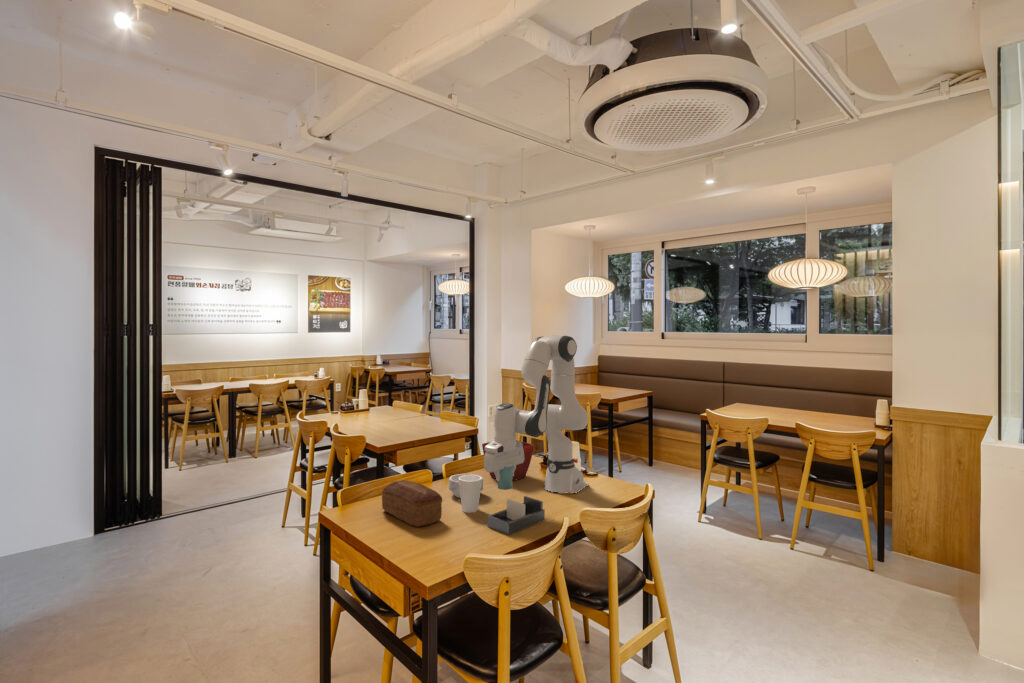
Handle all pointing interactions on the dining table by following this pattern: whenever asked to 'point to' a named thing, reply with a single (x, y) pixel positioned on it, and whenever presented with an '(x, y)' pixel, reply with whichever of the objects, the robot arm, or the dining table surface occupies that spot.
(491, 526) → the grey open box
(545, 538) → the dining table surface
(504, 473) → the jar
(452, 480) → the pale lilac bowl
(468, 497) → the foam cup
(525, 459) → the plant pot
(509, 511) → the plate
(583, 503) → the dining table surface
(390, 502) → the bread
